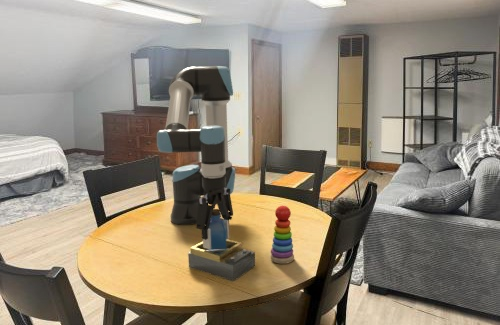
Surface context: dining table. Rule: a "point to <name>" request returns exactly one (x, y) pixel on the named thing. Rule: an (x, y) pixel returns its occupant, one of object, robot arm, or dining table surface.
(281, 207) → the stacking toy
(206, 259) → the gray gold-framed box
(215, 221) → the perfume bottle
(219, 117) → the robot arm
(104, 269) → the dining table surface
